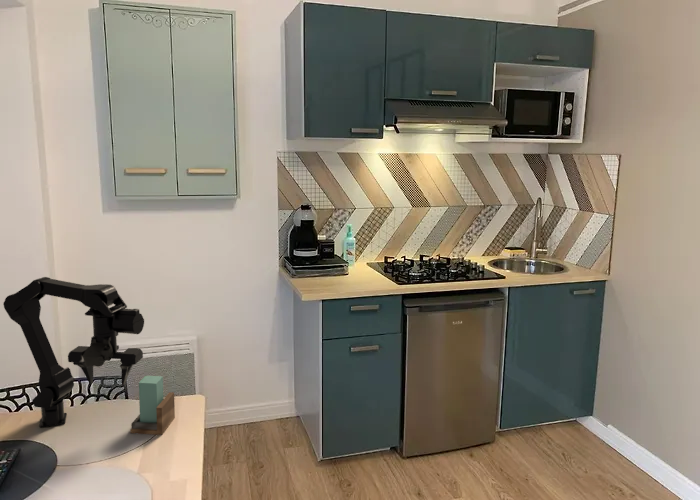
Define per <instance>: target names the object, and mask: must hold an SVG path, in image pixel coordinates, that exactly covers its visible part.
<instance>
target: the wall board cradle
mask: <svg viewBox="0 0 700 500" xmlns="http://www.w3.org/2000/svg"><path fill="white" fill-rule="evenodd" d="M175 405H176V404H175V392H171V391H170V392H168V393H167V394H166V395H165V396H164V399H163V400H162V402H161V403H160V404H159V405H158V406H157V408H156V413H157V423H145V422H140V413H139V414H138V415H137V417H135V419H134V420H133V421H132V422H131V424H130V425H131V429H130V434H135V433H138V434H140V435H157V436H158V435H163V434H164V433H165V432H166V431H167V429H168V428H169V426H170V425H171V424H172V422H173V421H174V420H175V419H176V414H175V411H176V409H175Z"/></svg>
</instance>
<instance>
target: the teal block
mask: <svg viewBox="0 0 700 500" xmlns="http://www.w3.org/2000/svg"><path fill="white" fill-rule="evenodd" d="M138 396H139V397H138V398H139V400H138V401H139V414H140V422H145V423H157V413H156V408H157V406H158V405H159V404H160V403H161V402H162V400H163V399H164V398H165V396H164V376H161V375H145V376H144V377H142V379H141V380H140V381H139V382H138Z"/></svg>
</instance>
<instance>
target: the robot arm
mask: <svg viewBox="0 0 700 500" xmlns="http://www.w3.org/2000/svg"><path fill="white" fill-rule="evenodd" d="M46 295H47V296H50V297H51V296H52V297H57V298H63V299H66V300H67V299H68V300H72V301H77V302H80V303H82V305H83V306H85V307H88V308H89V309H88V310H87V311H86V312H85V313H84V315H85V316H90V317H92V327H93V328H92V329H93V331H92V332H93V333H92V334H93V336H91V339H90V345H89V346H86V345H85V346H84V345H78V346H76V347H75V348H74V349H72V350H70V351H69V353H68V354H67V361H68V363H72V364H73V365H74V366H77V367H78V368H80V369H81V371H82V372H83V373H84V376H85V378H86V381H88V384H89V385H91V384H93V382H94V367H98V368H99V367H102V366H103V365H104V364H105V362H110V361H111V360H114V359H115V360H120V362H121V364H120V365H119V367H120V369H121V378H120V379H121V386H125V385H126V382H127V379H128V376H129V374H130V372H131V370H132V367H133V366H134V365H136V364H138V363H139V362H140V361H141V360H142V359H143V358H144V352H143V350H142V349H141V348H135V347H134V348H133V347H128V348H126V349H125V351H118V350H120V345H118V343H117V341H118V340H117V337H118V336H119V334H128V335H129V334H131V335H139V334H141V333H142V331H143V329H144V327H145V318H144V316H143V314H142V313H141V312H140V308H128V305H127V304H126V302H125V301H124V300H123V298H122V296H120V294H119V293H118V290H117V289H116V286H115V285H113V284H104V283H103V284H91V285H89V284H87V285H86V284H80V283H75V282H70V281H65V280H59V279H54V278H53V279H52V278H50V277H48V276H43V277H41V278H40V277H39V278H36V279H33V280H32V281H31V282H30V283H29V284H27V285H26V286H25V287H23V288H21V289H20V290H18V291H16V292H15V293H11V294H9V295H7V296H6V297H5V299H4V301H3V302H2V303H3V308H4V311H5V312H6V313H7V315H8V317H9V318H10V319H11V320H12V321H13V322H15V323H16V324H18V325H19V326H20V328H21V331H22V333H23V336H24V338H25V340H26V342H27V345H28V347H29V349H30V352H31V354H32V357H33V359H34V361H35V363H36V364H35V365H36V367H37V368H38V371H39V378H38V388H39V390H40V391H39V393H38V394H37V395H35V397H33V399H32V400H31V401H32V403H33V407H35V408H40V411H41V412H40V413H41V417H40V422H39V425H38V426H39V428H47V427H54V426H61V425H65V424H66V420H67V415H68V414H67V413H68V412H65V407H64V399H65V398H67V397H69V396H70V392H71V391H72V390H73V389H74V387H75V382H74V380H75V378H74V377H73V374H72V371H71V368H69V367H65V368H64V367H63V366H61V365H60V364H59V362H58V360H57V358H56V354H55V353H54V350H53V348H52V345H51V343H50V340H49V338H48V336H47V334H46V330H45V329H44V326H43V324H42V322H41V319H40V316H41V309H42V306H41V302H40V300H41V299H43V298H44V297H45V296H46ZM112 305H113V306H112ZM110 306H111V307H110Z"/></svg>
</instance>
